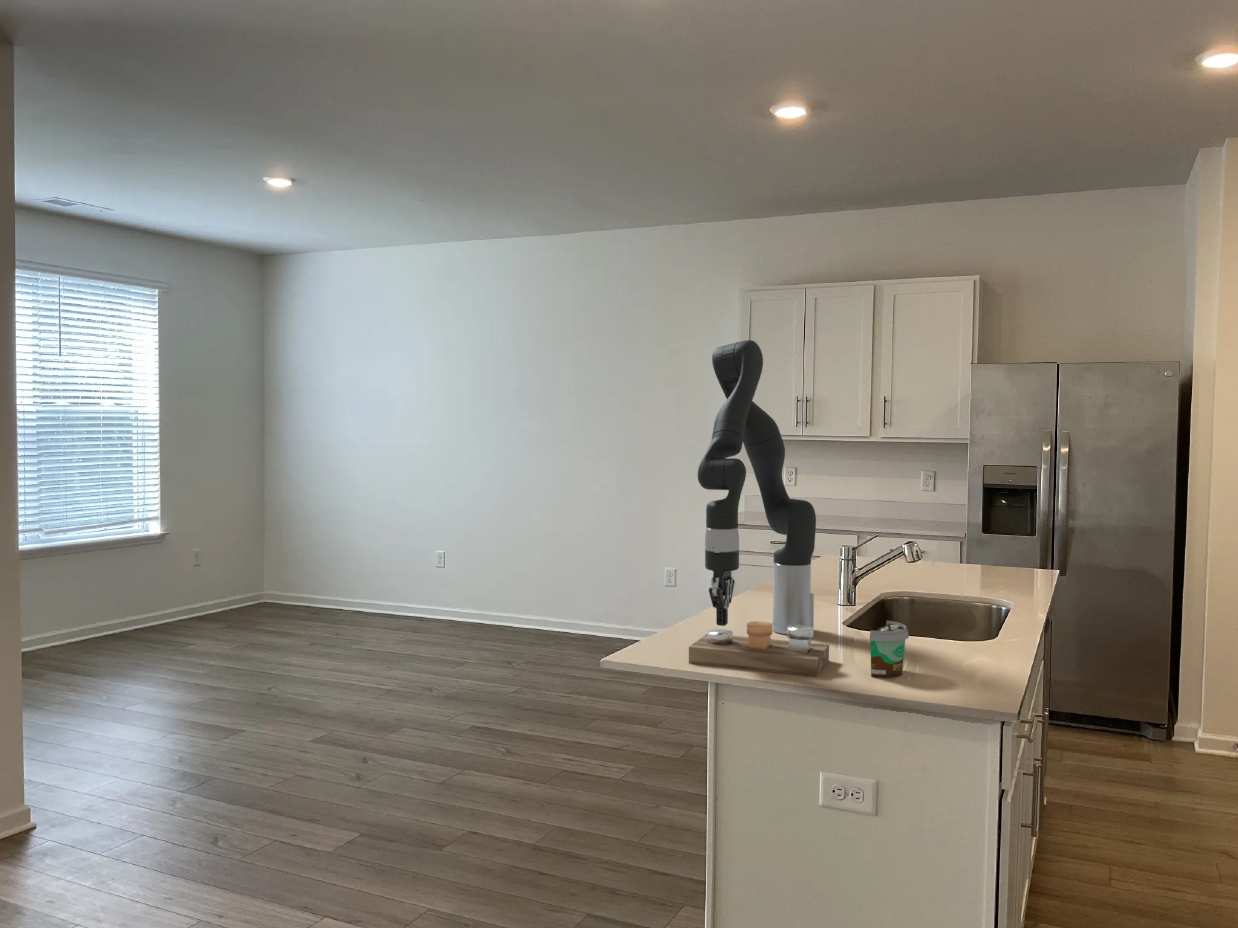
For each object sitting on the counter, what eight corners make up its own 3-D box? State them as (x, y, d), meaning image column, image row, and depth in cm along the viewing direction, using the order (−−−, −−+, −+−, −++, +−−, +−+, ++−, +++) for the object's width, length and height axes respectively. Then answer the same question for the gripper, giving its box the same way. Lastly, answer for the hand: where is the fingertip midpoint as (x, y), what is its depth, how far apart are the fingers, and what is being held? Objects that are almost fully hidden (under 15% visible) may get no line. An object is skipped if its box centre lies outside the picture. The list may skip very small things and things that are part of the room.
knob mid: (750, 642, 219) (750, 620, 219) (774, 644, 217) (775, 622, 216) (743, 648, 214) (743, 625, 213) (768, 650, 212) (769, 627, 211)
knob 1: (711, 649, 222) (711, 628, 222) (735, 652, 220) (735, 630, 220) (704, 655, 217) (704, 633, 217) (728, 658, 215) (728, 635, 215)
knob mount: (707, 648, 227) (707, 633, 227) (828, 660, 217) (829, 644, 216) (688, 662, 214) (688, 646, 214) (816, 676, 204) (816, 659, 203)
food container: (898, 682, 199) (899, 634, 199) (868, 678, 202) (869, 630, 202) (915, 669, 210) (916, 623, 209) (886, 665, 213) (887, 619, 212)
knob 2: (790, 646, 215) (790, 623, 215) (815, 648, 213) (815, 626, 213) (784, 652, 210) (784, 629, 210) (810, 654, 208) (810, 631, 208)
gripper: (714, 543, 225) (714, 617, 226) (697, 551, 212) (697, 629, 214) (745, 544, 222) (745, 620, 223) (730, 552, 210) (730, 632, 211)
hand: (722, 624), depth 218 cm, fingers closed
